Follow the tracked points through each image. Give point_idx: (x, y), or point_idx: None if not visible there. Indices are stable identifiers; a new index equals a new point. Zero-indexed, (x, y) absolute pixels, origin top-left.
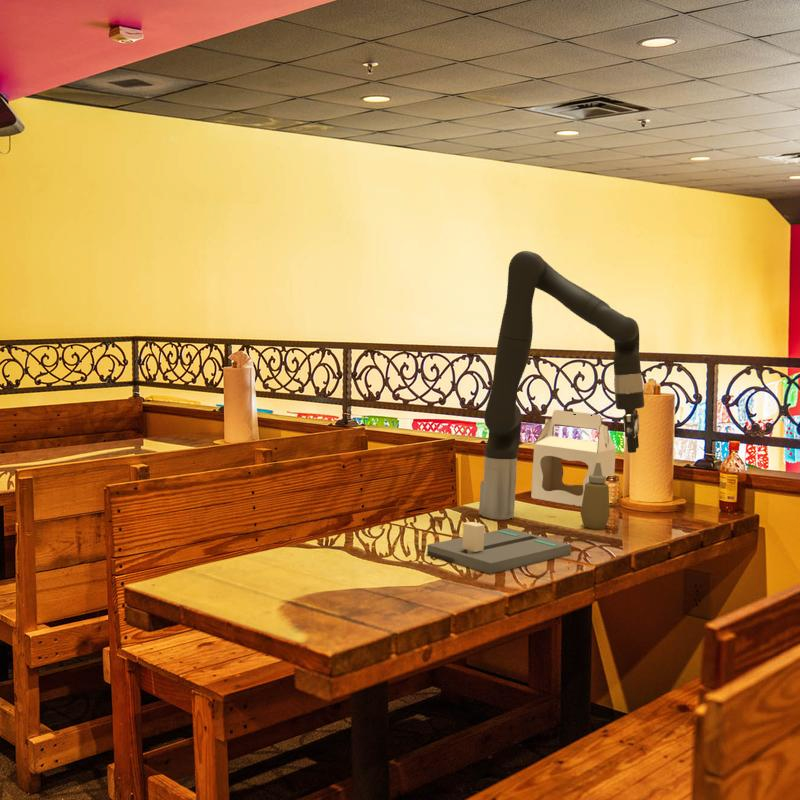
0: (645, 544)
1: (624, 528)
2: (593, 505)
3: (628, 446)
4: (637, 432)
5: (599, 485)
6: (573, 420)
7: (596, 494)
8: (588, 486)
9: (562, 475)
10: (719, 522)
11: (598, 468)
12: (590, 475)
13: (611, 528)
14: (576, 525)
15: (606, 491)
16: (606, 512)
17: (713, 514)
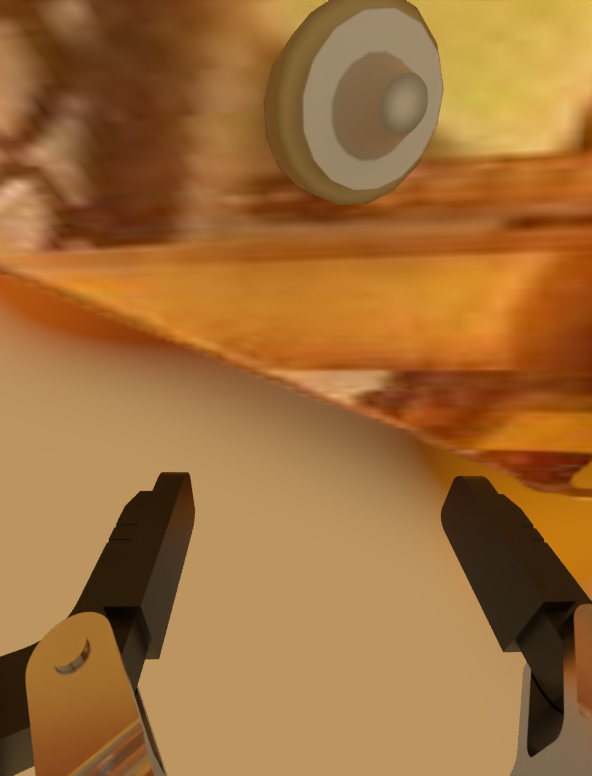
0: (161, 313)
1: (347, 245)
2: (267, 105)
3: (142, 523)
4: (523, 687)
5: (296, 139)
6: None
7: (273, 119)
8: (297, 33)
9: None
10: (479, 452)
11: (358, 115)
12: (376, 25)
13: None
14: None
15: (307, 190)
16: (295, 183)
17: (565, 444)
